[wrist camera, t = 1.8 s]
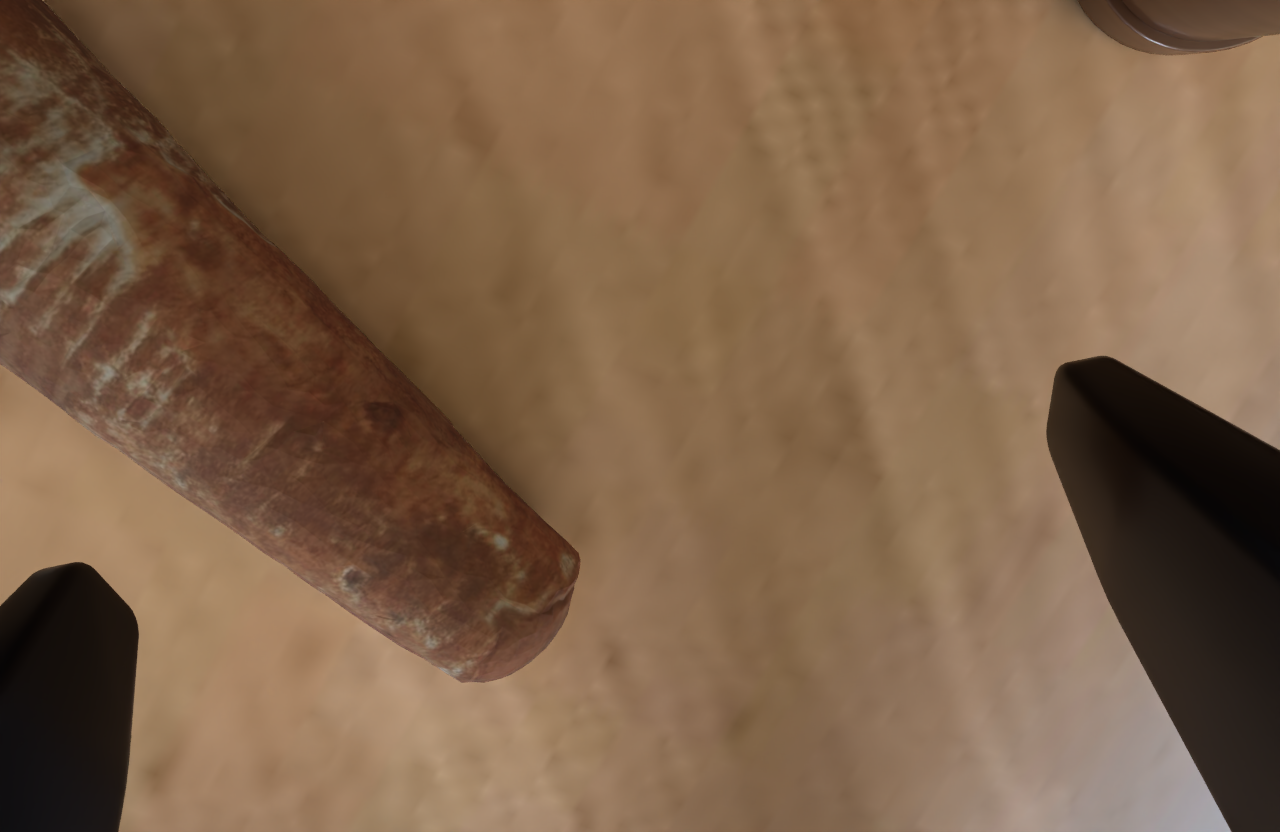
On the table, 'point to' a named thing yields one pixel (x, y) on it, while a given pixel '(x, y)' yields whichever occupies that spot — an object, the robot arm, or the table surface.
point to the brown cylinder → (246, 374)
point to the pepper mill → (1184, 23)
